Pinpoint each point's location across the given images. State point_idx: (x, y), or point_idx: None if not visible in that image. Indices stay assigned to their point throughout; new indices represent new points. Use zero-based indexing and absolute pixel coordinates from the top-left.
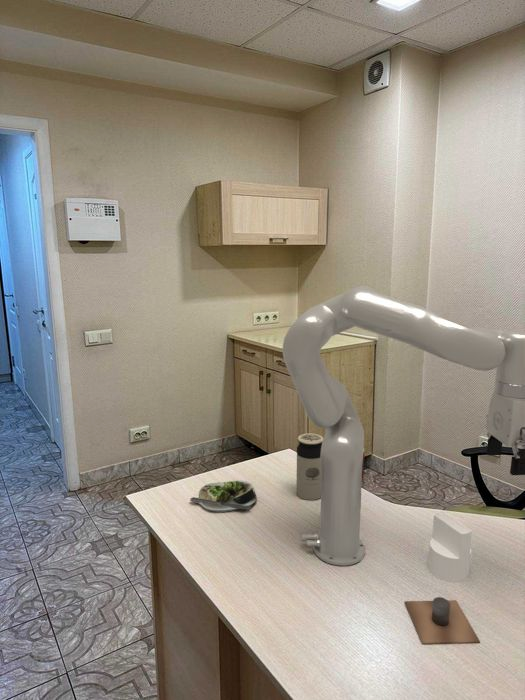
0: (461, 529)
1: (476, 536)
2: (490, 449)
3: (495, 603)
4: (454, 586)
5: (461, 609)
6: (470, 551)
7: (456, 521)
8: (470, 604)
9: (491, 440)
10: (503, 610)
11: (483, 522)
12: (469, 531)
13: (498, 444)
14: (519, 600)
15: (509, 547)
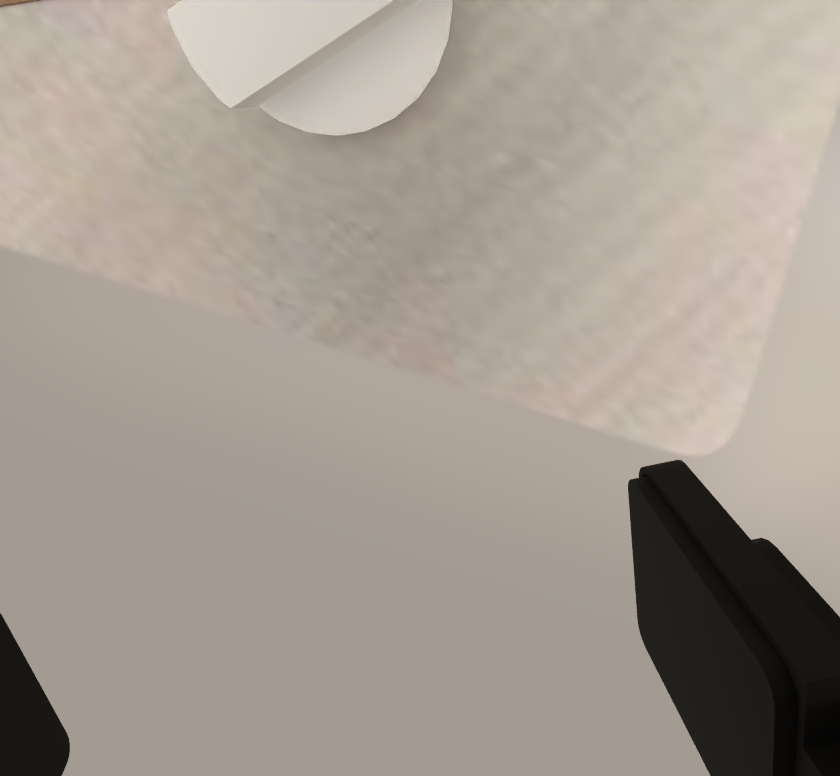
0: (233, 29)
1: (628, 249)
2: (670, 554)
3: (124, 189)
4: None
5: (13, 2)
6: (298, 123)
7: (346, 20)
8: (82, 66)
9: (763, 699)
10: (85, 210)
11: (746, 317)
12: (220, 88)
13: (714, 738)
14: (172, 298)
15: (543, 372)
